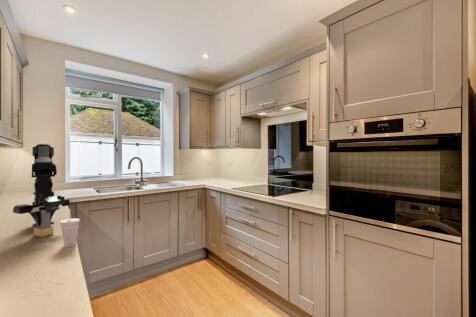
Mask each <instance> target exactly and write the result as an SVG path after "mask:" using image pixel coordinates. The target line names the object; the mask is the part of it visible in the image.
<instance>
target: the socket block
mask: <svg viewBox="0 0 476 317" xmlns="http://www.w3.org/2000/svg"><path fill="white" fill-rule="evenodd" d="M49 236H54V225H53V226H51V225H50V227H49V228H45V229H37V226H36V227H33V237H36V238H40V239H42V238H45V237H49Z"/></svg>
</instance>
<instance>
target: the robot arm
mask: <svg viewBox="0 0 476 317" xmlns="http://www.w3.org/2000/svg"><path fill="white" fill-rule="evenodd" d="M54 156H55V148H54V147H53V146H51V144H48V143H38V144H36V145H35V146H32V157H34V162H33V163H31V178H35V179H34V185H33V186H34V192H33V193H32V194H33V195H34V200H33V201H32V203H31V204H32V205H31V204H27V203H26V204H18V205H14V207H13V208H12V213H13V214H19V215H23V214H29V215H30V216H31V217H32V218H33V220H34V222H35V223H32V226H36V227H37V225H38V226H40V224H41V220H40V214H41V212H50V225H51V224H54V223H55V222H54V221H52V218H53V216H54V214H55V213H56V211H57V210H60V209H61V207H69V206H71V201H70V200H69V199H68V198H67V199H66V198H65V195H64V194H60V195H57V196H56V195H55V192H54V191H53V186H54V184H53V179H52V177H53V178H54V177H56V175H58V174H57V173H58V172H57V169H58V168H57V165H56V164H55V163H54V162H53V157H54ZM60 206H61V207H60Z"/></svg>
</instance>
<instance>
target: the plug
mask: <svg viewBox="0 0 476 317" xmlns="http://www.w3.org/2000/svg"><path fill="white" fill-rule="evenodd" d="M40 220H41V224H40V226H38V225H37V226H36V227H37V229H45V228H49V227H50V226H51V224H50V212H41V214H40Z"/></svg>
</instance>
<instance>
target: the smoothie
mask: <svg viewBox="0 0 476 317" xmlns="http://www.w3.org/2000/svg"><path fill="white" fill-rule="evenodd" d="M71 216H72V215H71V208H69V209H68V218H66V219H62V220H60V221H59V225H60V227H61V233H62V241H63V247H64V248H69V247H73V246H76V245H77V238H78V234H79V233H78V232H79V226H80V225H79V224H80V223H81V219H80V218H78V217H77V218H76V217H75V218H74V217H73V218H72V217H71Z"/></svg>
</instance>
